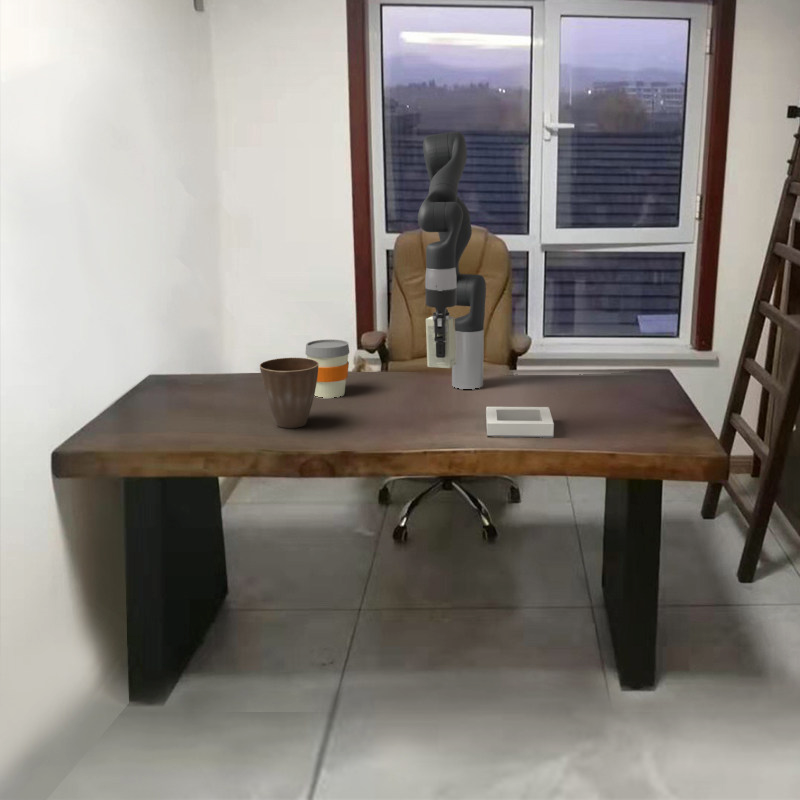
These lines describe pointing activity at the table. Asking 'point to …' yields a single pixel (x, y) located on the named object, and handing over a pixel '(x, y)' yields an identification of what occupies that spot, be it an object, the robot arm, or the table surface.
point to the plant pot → (290, 389)
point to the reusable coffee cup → (329, 366)
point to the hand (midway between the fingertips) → (441, 354)
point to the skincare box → (449, 344)
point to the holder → (519, 422)
